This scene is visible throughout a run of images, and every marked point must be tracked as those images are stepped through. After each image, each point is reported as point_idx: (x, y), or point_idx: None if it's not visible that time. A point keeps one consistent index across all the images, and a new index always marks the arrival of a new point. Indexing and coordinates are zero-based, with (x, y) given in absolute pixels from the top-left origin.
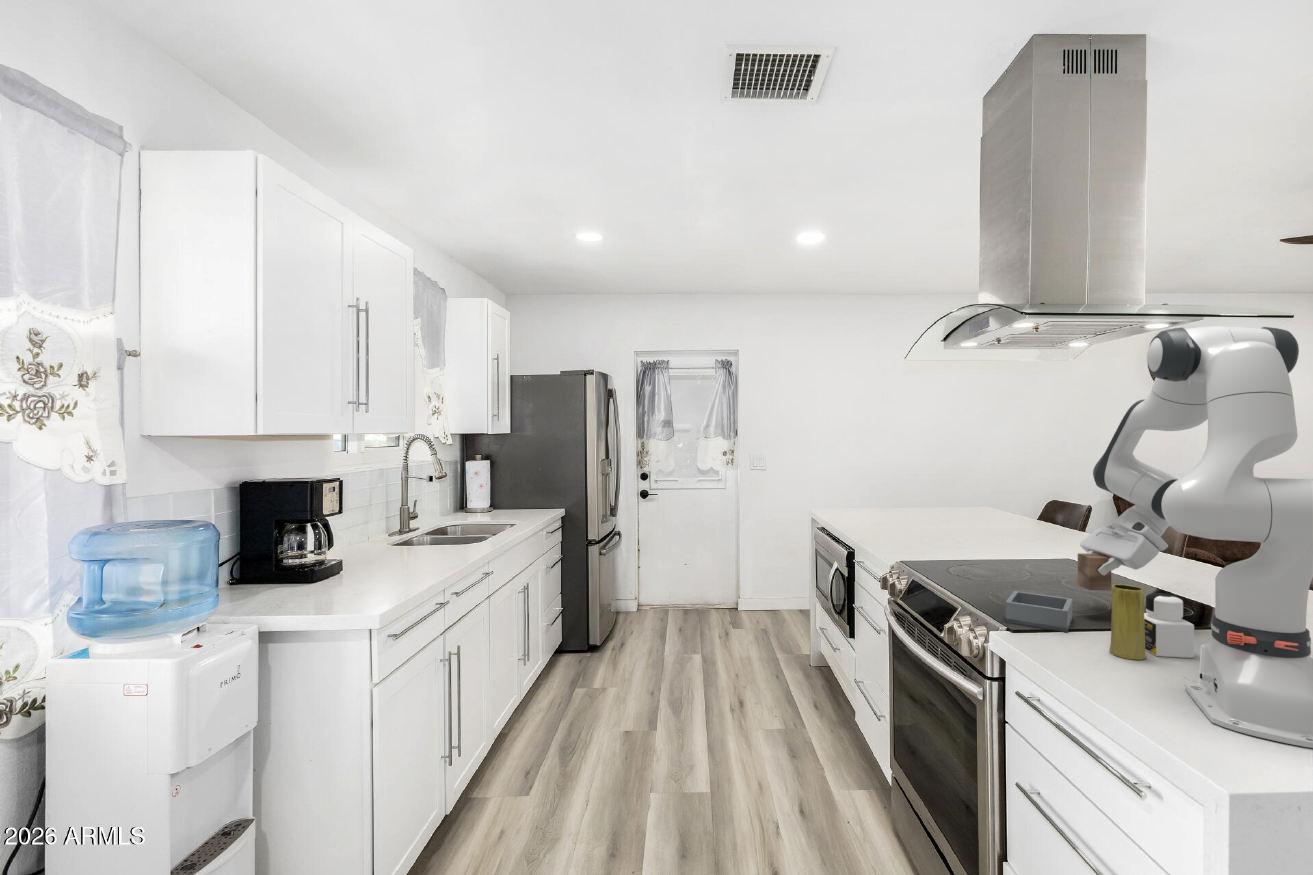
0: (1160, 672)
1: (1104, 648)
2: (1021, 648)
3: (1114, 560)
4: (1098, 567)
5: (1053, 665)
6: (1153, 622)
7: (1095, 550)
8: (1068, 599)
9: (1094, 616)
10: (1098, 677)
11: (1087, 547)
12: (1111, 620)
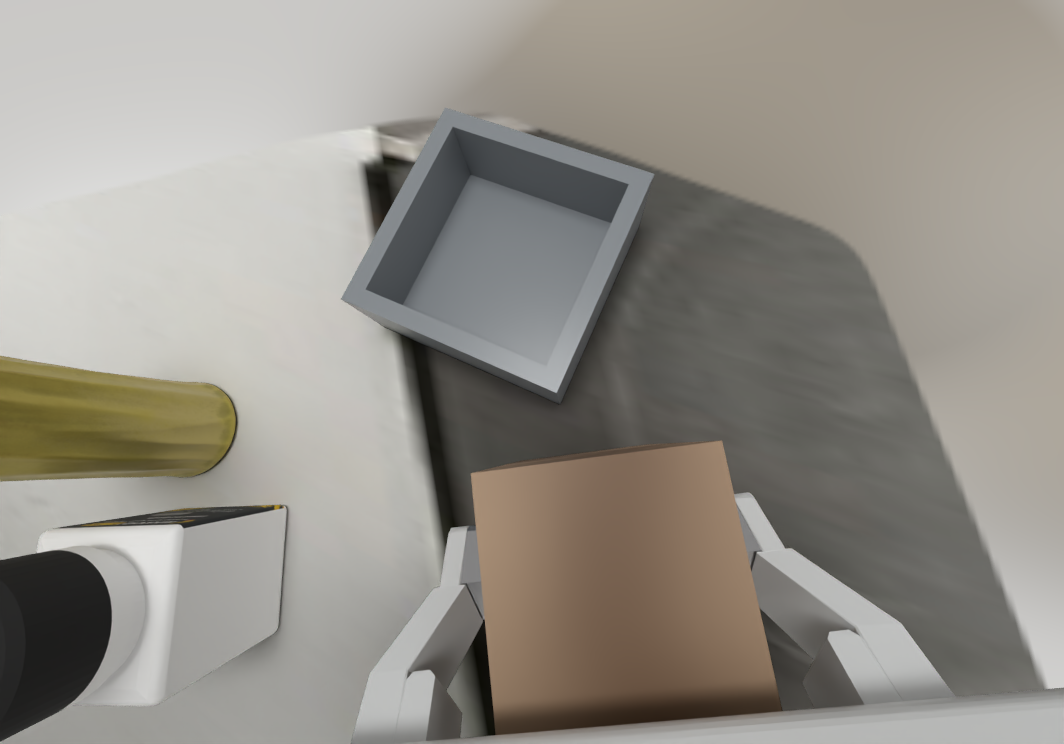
0: None
1: (245, 384)
2: (230, 161)
3: (363, 718)
4: None
5: (118, 205)
6: (54, 530)
7: (796, 711)
8: (540, 369)
9: None
10: (47, 281)
11: (1043, 695)
12: (97, 372)
